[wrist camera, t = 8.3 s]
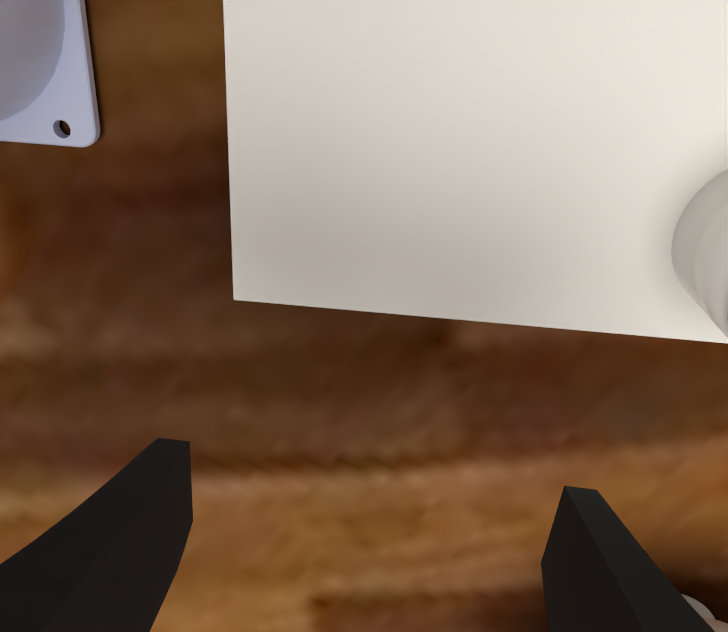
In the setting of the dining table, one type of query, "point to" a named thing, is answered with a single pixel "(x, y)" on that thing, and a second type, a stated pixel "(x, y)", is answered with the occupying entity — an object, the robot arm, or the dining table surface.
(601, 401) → the dining table surface
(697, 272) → the spice jar
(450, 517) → the dining table surface
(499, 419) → the dining table surface
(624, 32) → the shelf board
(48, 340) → the dining table surface
